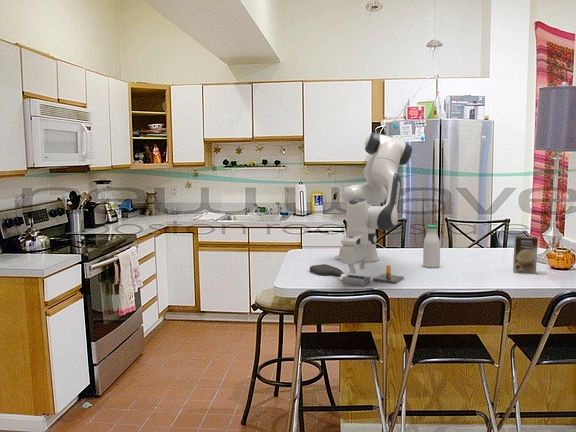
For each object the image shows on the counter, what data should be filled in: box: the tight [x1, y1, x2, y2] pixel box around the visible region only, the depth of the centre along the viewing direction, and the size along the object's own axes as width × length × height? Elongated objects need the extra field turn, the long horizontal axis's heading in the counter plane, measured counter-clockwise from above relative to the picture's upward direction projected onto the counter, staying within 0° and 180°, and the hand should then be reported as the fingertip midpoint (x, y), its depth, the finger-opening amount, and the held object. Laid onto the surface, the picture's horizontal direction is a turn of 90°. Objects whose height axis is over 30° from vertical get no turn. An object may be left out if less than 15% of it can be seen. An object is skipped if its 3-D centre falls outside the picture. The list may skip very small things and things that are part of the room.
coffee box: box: [512, 235, 539, 275], centre depth 232 cm, size 9×6×16 cm
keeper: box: [372, 264, 405, 285], centre depth 221 cm, size 10×10×7 cm
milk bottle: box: [422, 224, 441, 269], centre depth 247 cm, size 8×8×20 cm
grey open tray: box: [341, 273, 371, 288], centre depth 215 cm, size 10×6×3 cm, turn 57°
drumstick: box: [309, 263, 347, 282], centre depth 233 cm, size 3×11×24 cm
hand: (357, 271), depth 214 cm, fingers open, 8 cm apart
